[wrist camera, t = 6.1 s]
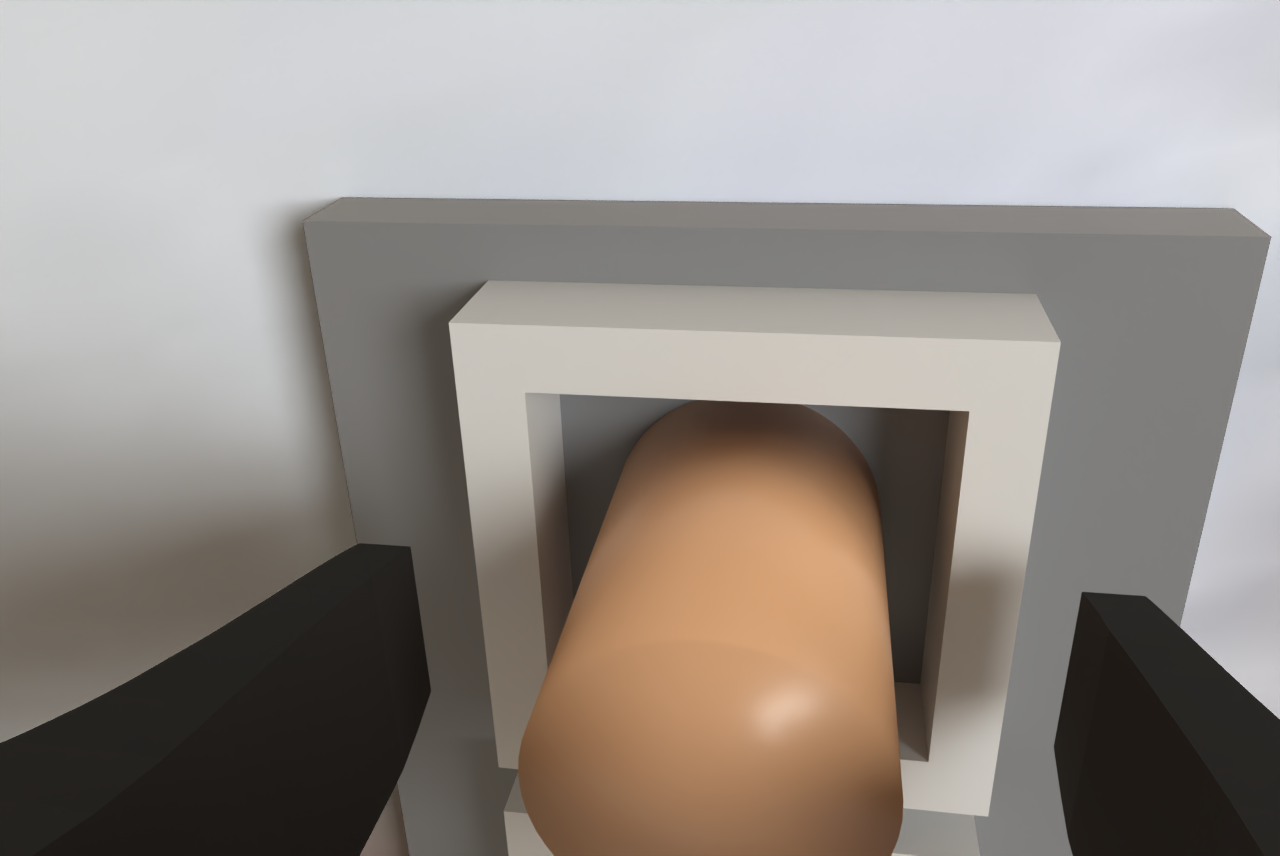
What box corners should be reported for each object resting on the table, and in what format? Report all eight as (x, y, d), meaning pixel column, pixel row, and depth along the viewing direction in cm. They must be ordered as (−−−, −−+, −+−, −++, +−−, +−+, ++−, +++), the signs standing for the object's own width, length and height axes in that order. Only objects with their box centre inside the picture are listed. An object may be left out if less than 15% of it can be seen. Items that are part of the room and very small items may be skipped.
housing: (1052, 1045, 19) (1084, 1210, 17) (457, 967, 21) (408, 1105, 18) (1234, 208, 12) (1328, 279, 10) (343, 197, 14) (241, 256, 12)
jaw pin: (868, 631, 14) (884, 956, 10) (619, 609, 15) (528, 908, 10) (892, 400, 13) (925, 661, 8) (615, 384, 13) (506, 622, 9)
